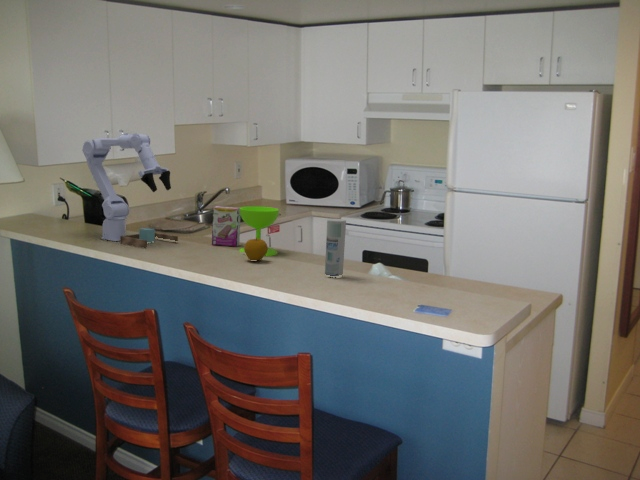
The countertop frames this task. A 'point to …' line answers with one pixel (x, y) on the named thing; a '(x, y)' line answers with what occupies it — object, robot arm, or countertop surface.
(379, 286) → the countertop surface
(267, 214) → the wineglass
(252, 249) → the apple
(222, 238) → the candy bar box
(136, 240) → the walnut crate
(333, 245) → the spray can
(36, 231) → the countertop surface
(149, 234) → the teal block
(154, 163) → the robot arm
